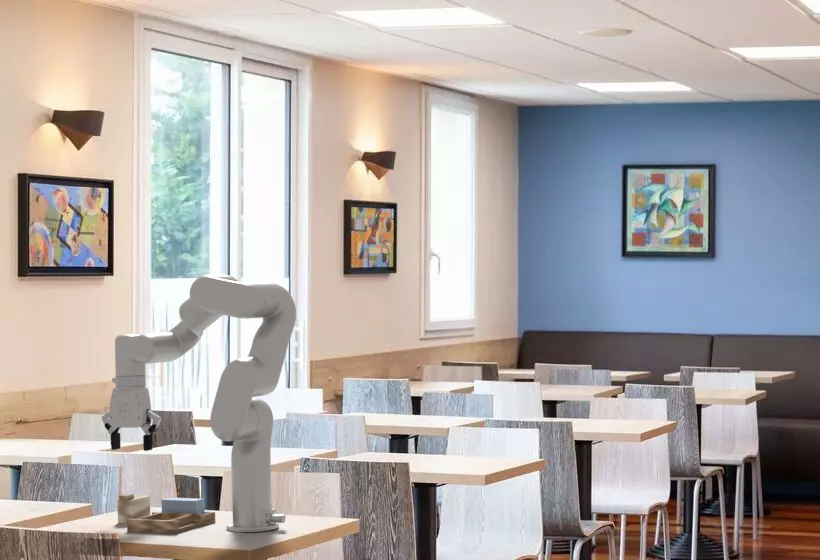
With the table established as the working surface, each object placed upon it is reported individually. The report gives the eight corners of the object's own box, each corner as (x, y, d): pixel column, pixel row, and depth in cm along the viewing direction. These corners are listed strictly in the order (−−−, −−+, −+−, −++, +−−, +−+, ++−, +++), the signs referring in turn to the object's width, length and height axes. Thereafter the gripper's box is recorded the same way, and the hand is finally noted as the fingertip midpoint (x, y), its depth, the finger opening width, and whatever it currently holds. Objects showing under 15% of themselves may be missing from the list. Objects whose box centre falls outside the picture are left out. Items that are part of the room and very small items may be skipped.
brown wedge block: (150, 519, 368) (149, 491, 368) (131, 524, 360) (130, 495, 360) (135, 518, 370) (135, 490, 370) (116, 523, 362) (115, 495, 362)
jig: (215, 522, 360) (215, 510, 360) (176, 533, 343) (176, 521, 343) (167, 520, 365) (167, 508, 365) (127, 531, 349) (126, 519, 349)
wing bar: (204, 518, 359) (204, 498, 359) (196, 521, 356) (195, 501, 356) (170, 517, 363) (170, 497, 363) (161, 519, 359) (161, 499, 360)
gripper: (93, 383, 366) (94, 450, 366) (151, 383, 359) (152, 452, 359) (110, 381, 373) (111, 447, 373) (167, 381, 366) (168, 449, 366)
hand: (131, 449), depth 366 cm, fingers open, 9 cm apart
